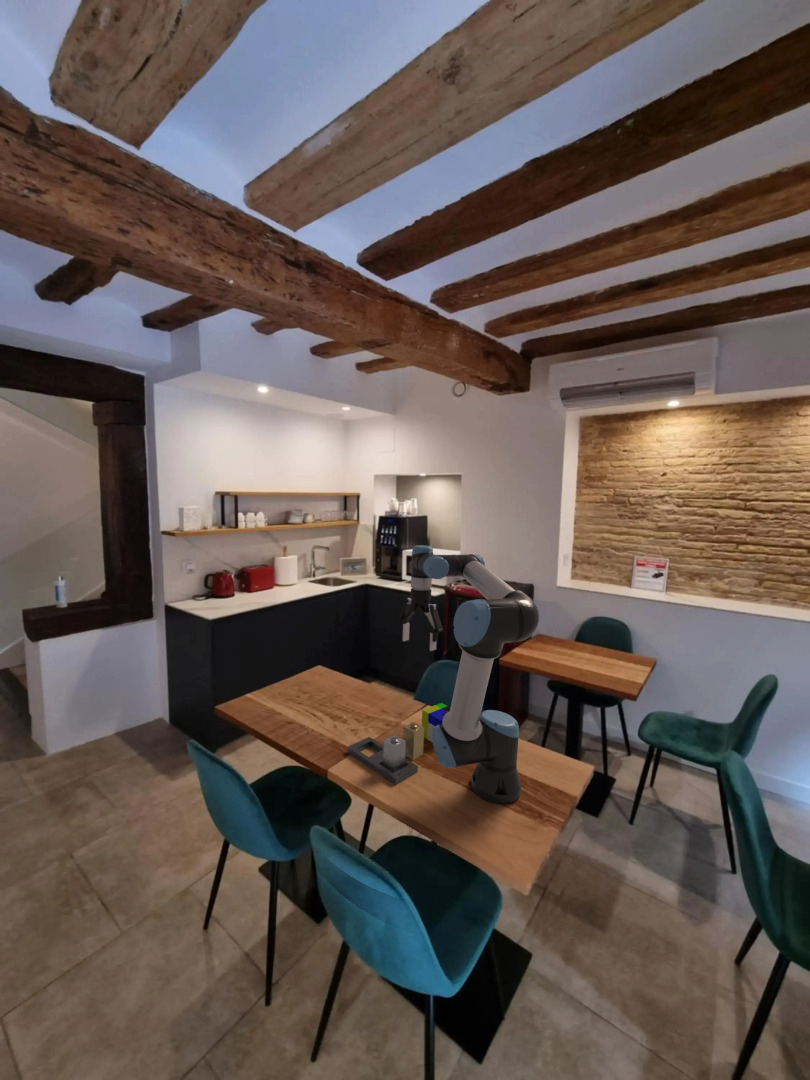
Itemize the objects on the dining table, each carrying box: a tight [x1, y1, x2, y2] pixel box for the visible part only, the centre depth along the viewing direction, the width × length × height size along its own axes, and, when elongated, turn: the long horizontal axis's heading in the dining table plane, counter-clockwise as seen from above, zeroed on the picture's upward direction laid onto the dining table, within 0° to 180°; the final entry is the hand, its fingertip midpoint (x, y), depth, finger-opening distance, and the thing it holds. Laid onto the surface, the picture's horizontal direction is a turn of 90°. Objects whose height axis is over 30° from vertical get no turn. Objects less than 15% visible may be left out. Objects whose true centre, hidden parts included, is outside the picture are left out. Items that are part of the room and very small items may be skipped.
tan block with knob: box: [402, 721, 425, 761], centre depth 157 cm, size 5×5×10 cm
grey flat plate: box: [346, 736, 419, 786], centre depth 152 cm, size 24×10×2 cm, turn 45°
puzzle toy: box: [421, 702, 451, 744], centre depth 169 cm, size 10×10×10 cm
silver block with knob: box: [383, 734, 406, 773], centre depth 147 cm, size 5×5×10 cm
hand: (418, 645), depth 166 cm, fingers open, 13 cm apart
